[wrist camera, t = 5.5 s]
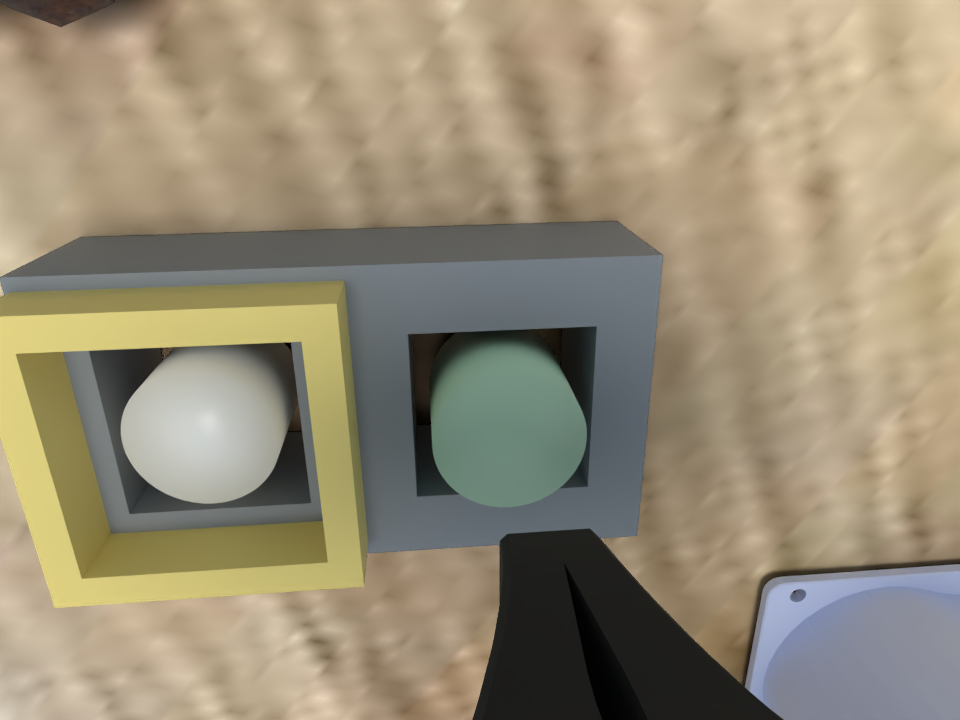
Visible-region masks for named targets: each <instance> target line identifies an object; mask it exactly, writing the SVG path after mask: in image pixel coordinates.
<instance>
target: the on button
mask: <svg viewBox="0 0 960 720" xmlns="http://www.w3.org/2000/svg"><path fill="white" fill-rule="evenodd" d="M429 390H430V411H431V432H432V449H433V456H434V460H435V463H436V466H437V468H438V470H439V472H440V474H441V475H442V477H443V478H444V480H445V481H446V482H447V483H448V484H449V486H450V487H452V488H453V489H454V490H455V491H456V492H458V493H459V494H461V495H462V496H463V497H465V498H467V499H469V500H471V501H474V502H476V503H479V504H483V505H487V506H492V507H516V506H522V505H527V504H530V503H533V502H536V501H539V500H541V499H543V498H545V497H547V496H549V495H550V494H552V493H554V492H555V491H556V490H558V489H559V488H560V487H561V486H563V485H564V484H565V483H566V482H567V481H568V480H569V479H570V477H571V476H572V475H573V473H574V472H575V471H576V469H577V467H578V466H579V464H580V462H581V460H582V457H583V455H584V451H585V447H586V441H587V428H586V422H585V418H584V415H583V412H582V410H581V408H580V406H579V404H578V402H577V400H576V398H575V396H574V394H573V391H572V389H571V387H570V385H569V383H568V381H567V379H566V377H565V375H564V373H563V371H562V369H561V367H560V365H559V363H558V361H557V359H556V357H555V355H554V353H553V351H552V349H551V348H550V346H549V345H548V343H547V342H546V341H545V340H544V339H543V338H542V337H541V336H540V335H539V334H538V333H536V332H535V331H534V330H532V329H522V330H498V331H474V332H457V333H455V334H454V335H453V336H452V337H450V338H449V339H448V340H447V341H446V342H445V343H444V345H443V346H442V347H441V348H440V350H439V351H438V353H437V355H436V357H435V359H434V361H433V364H432V367H431V371H430V377H429Z"/></svg>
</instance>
